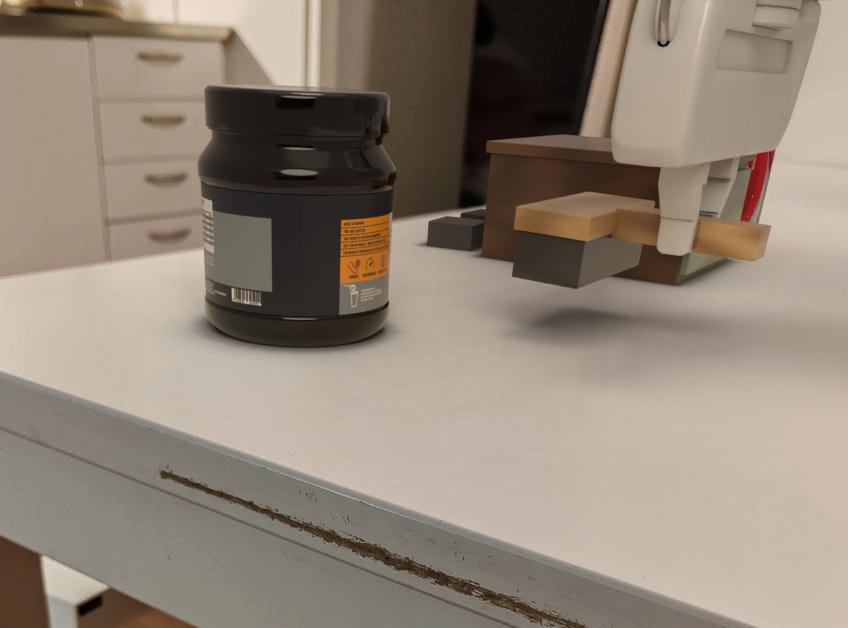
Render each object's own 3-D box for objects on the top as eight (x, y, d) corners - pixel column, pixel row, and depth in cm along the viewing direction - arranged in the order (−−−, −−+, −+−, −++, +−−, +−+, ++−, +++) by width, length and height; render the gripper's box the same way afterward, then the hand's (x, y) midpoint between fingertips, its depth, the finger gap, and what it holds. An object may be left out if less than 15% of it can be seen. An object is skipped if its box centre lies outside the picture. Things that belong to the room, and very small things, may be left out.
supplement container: (423, 327, 57) (438, 93, 51) (315, 363, 49) (318, 94, 43) (283, 300, 62) (281, 83, 56) (165, 328, 54) (149, 82, 48)
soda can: (671, 251, 85) (701, 93, 78) (669, 239, 91) (697, 92, 84) (756, 257, 83) (793, 98, 77) (748, 245, 89) (782, 96, 83)
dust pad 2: (481, 208, 89) (479, 232, 90) (460, 212, 86) (458, 236, 87) (520, 213, 87) (518, 237, 88) (500, 217, 84) (498, 242, 85)
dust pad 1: (446, 215, 84) (444, 240, 85) (428, 220, 81) (426, 246, 82) (489, 220, 82) (487, 245, 83) (472, 225, 79) (470, 251, 80)
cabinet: (744, 262, 81) (769, 150, 76) (692, 289, 70) (719, 160, 66) (549, 237, 89) (562, 134, 84) (475, 257, 78) (486, 140, 74)
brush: (770, 287, 57) (789, 217, 55) (721, 317, 49) (741, 238, 47) (577, 254, 62) (588, 189, 60) (506, 277, 55) (516, 204, 53)
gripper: (759, -88, 38) (684, 284, 45) (851, -36, 53) (784, 236, 60) (605, -83, 40) (558, 266, 48) (734, -36, 55) (684, 224, 63)
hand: (685, 249), depth 54 cm, fingers closed on brush, 2 cm apart
